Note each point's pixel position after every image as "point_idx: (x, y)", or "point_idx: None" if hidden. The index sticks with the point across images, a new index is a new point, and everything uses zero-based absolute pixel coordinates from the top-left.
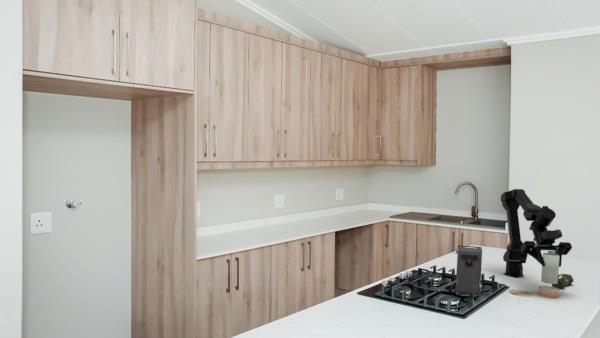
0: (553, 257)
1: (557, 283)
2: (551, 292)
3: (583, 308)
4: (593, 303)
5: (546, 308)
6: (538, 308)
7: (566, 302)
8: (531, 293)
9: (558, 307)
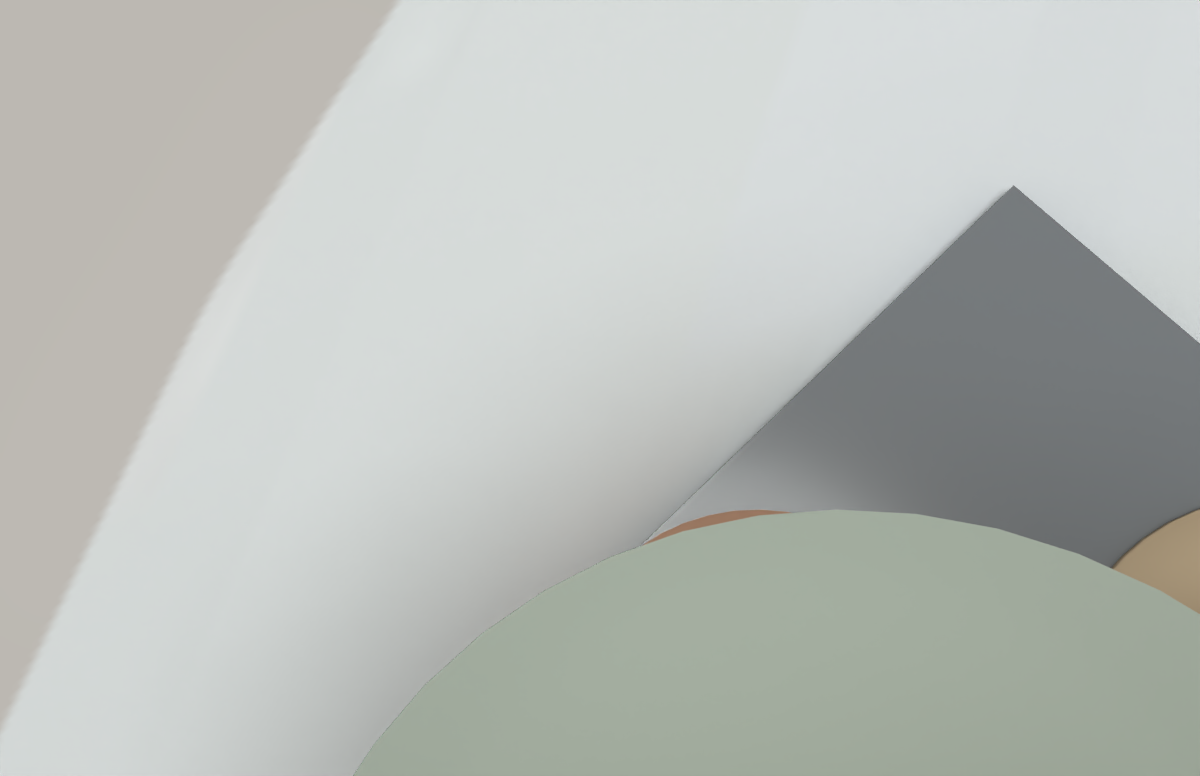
0: (858, 519)
1: None
2: (775, 511)
3: (393, 210)
4: (116, 516)
5: (983, 50)
6: (1117, 14)
7: (537, 462)
8: None
9: (769, 154)
